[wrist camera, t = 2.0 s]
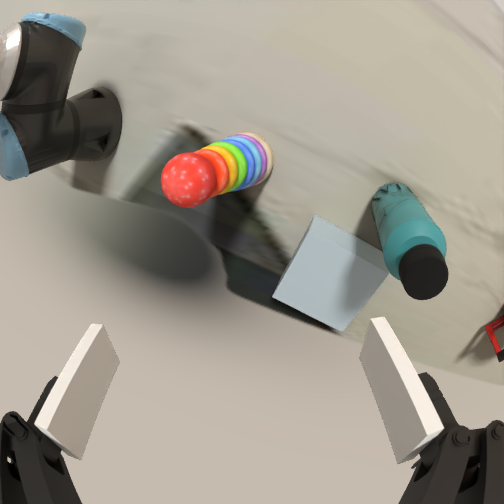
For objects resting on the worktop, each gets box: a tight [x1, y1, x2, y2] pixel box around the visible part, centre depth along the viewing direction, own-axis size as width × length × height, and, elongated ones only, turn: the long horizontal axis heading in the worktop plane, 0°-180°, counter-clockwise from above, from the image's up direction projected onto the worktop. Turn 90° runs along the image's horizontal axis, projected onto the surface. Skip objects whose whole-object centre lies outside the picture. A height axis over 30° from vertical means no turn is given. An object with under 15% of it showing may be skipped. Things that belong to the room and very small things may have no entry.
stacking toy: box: [161, 132, 273, 207], centre depth 30 cm, size 8×8×19 cm
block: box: [272, 215, 389, 332], centre depth 38 cm, size 12×12×6 cm
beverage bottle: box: [371, 182, 448, 300], centre depth 25 cm, size 6×7×20 cm
